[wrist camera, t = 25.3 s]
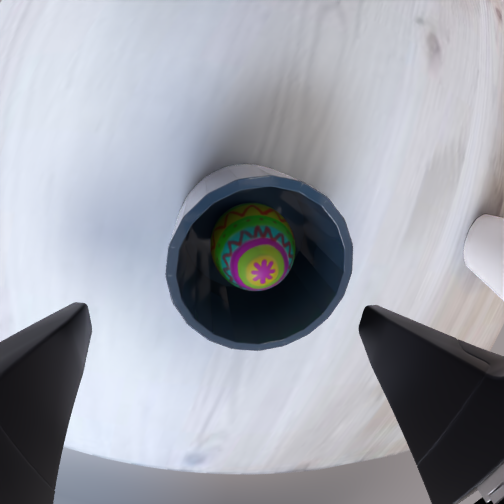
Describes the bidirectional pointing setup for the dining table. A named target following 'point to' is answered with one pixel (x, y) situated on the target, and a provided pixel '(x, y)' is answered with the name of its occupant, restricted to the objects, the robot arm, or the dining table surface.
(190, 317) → the cup
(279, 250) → the egg
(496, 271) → the foam cup
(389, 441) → the dining table surface
